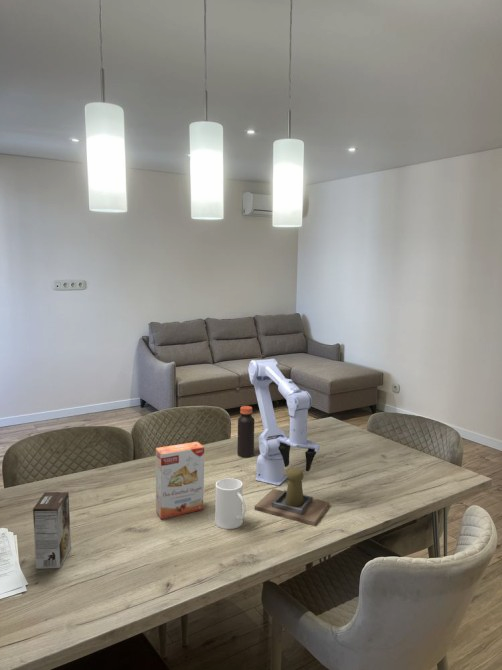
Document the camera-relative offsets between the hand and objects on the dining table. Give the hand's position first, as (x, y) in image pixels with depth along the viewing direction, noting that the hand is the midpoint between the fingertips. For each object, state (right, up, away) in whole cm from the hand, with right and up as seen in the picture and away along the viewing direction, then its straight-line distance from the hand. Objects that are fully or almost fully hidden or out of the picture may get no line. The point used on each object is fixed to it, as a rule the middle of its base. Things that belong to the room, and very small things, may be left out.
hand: (297, 468), depth 157 cm
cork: (-1, -10, -5) cm, 11 cm away
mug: (-21, -12, -16) cm, 29 cm away
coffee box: (-67, -14, -34) cm, 76 cm away
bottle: (-18, -5, +38) cm, 42 cm away
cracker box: (-38, -11, -9) cm, 40 cm away
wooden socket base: (-2, -11, -6) cm, 13 cm away
